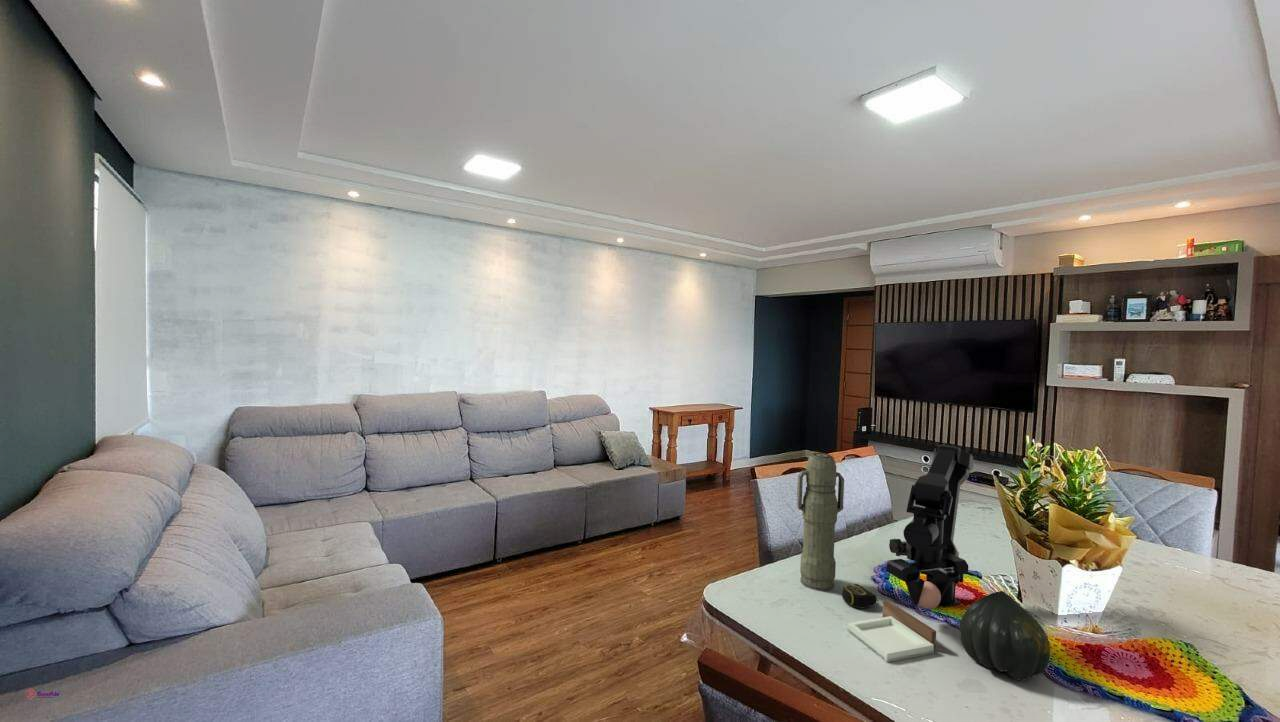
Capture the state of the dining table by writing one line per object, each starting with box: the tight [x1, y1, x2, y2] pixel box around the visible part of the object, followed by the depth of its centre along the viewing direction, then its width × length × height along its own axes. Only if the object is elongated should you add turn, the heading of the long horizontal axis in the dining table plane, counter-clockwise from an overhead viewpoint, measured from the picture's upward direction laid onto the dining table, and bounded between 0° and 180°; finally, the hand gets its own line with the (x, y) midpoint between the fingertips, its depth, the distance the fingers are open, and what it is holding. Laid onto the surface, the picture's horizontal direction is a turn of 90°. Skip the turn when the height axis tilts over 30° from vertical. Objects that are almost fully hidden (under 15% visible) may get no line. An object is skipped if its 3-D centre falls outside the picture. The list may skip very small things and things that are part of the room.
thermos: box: [796, 452, 845, 592], centre depth 141 cm, size 9×12×35 cm
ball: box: [917, 580, 941, 610], centre depth 121 cm, size 6×6×6 cm
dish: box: [846, 616, 935, 663], centre depth 114 cm, size 12×12×2 cm
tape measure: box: [841, 583, 877, 609], centre depth 131 cm, size 7×7×4 cm
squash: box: [959, 590, 1051, 681], centre depth 106 cm, size 14×15×15 cm
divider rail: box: [882, 599, 937, 651], centre depth 118 cm, size 1×14×4 cm, turn 17°
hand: (925, 602), depth 122 cm, fingers closed on ball, 6 cm apart
